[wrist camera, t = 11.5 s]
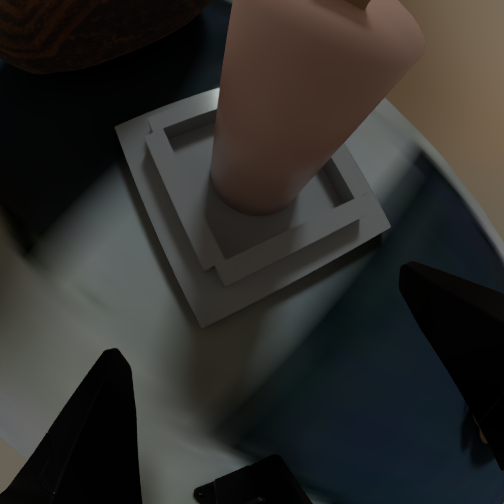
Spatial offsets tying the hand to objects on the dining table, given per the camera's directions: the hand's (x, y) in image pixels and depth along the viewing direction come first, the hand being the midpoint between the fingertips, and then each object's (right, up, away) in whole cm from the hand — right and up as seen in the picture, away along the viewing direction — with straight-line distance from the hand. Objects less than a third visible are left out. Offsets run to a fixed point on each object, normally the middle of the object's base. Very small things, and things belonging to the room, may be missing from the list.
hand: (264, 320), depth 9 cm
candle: (0, +7, +10) cm, 12 cm away
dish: (0, +7, +11) cm, 13 cm away
